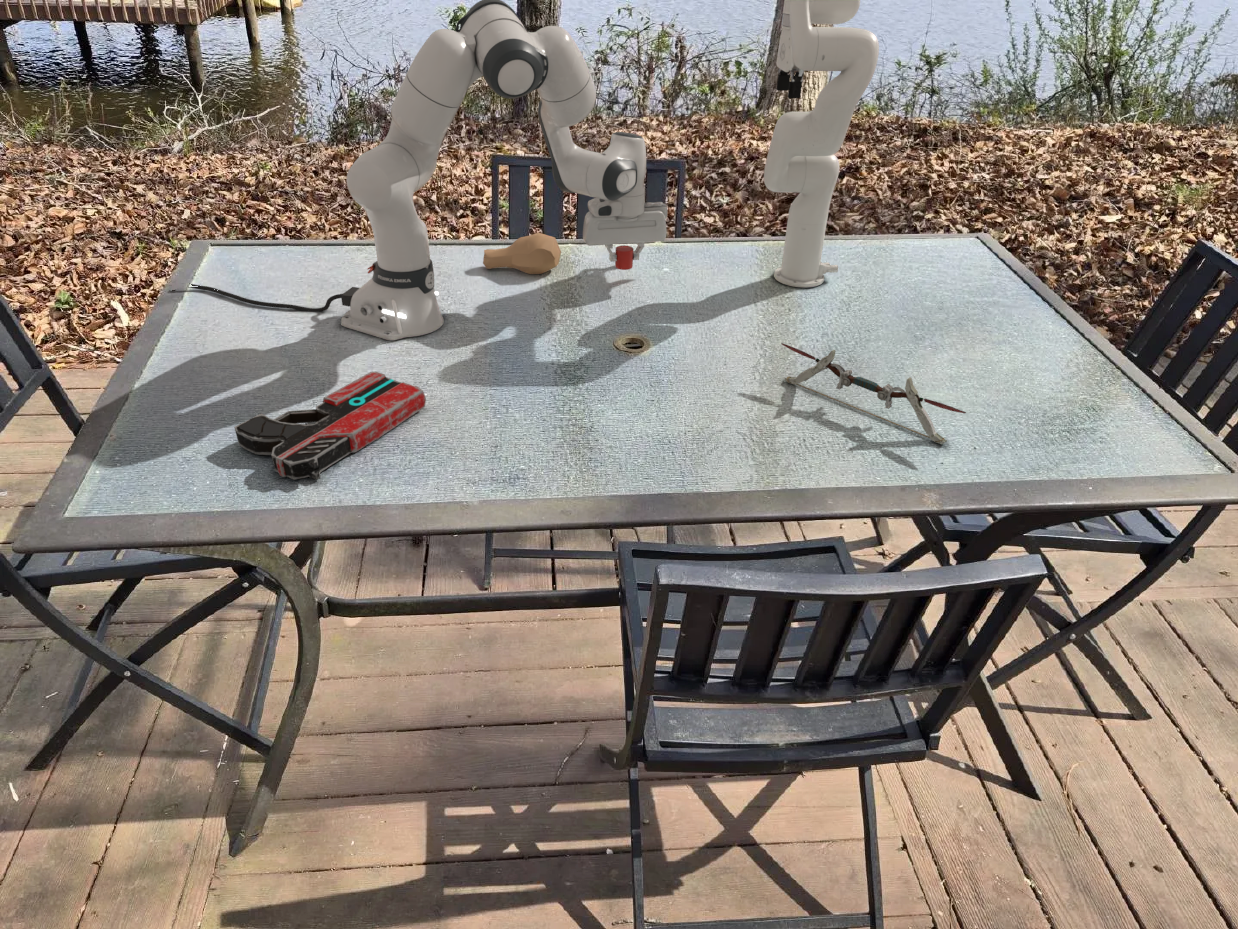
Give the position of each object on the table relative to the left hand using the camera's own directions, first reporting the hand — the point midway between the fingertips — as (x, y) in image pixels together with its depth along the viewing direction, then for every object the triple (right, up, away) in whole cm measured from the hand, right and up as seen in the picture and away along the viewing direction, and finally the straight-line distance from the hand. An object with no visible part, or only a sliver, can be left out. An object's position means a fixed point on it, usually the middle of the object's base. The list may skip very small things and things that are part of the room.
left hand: (624, 259), depth 214 cm
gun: (-52, -44, -57) cm, 89 cm away
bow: (+45, -40, -46) cm, 76 cm away
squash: (-26, 0, +10) cm, 28 cm away
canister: (0, -1, +1) cm, 2 cm away
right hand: (+43, +47, +16) cm, 66 cm away
